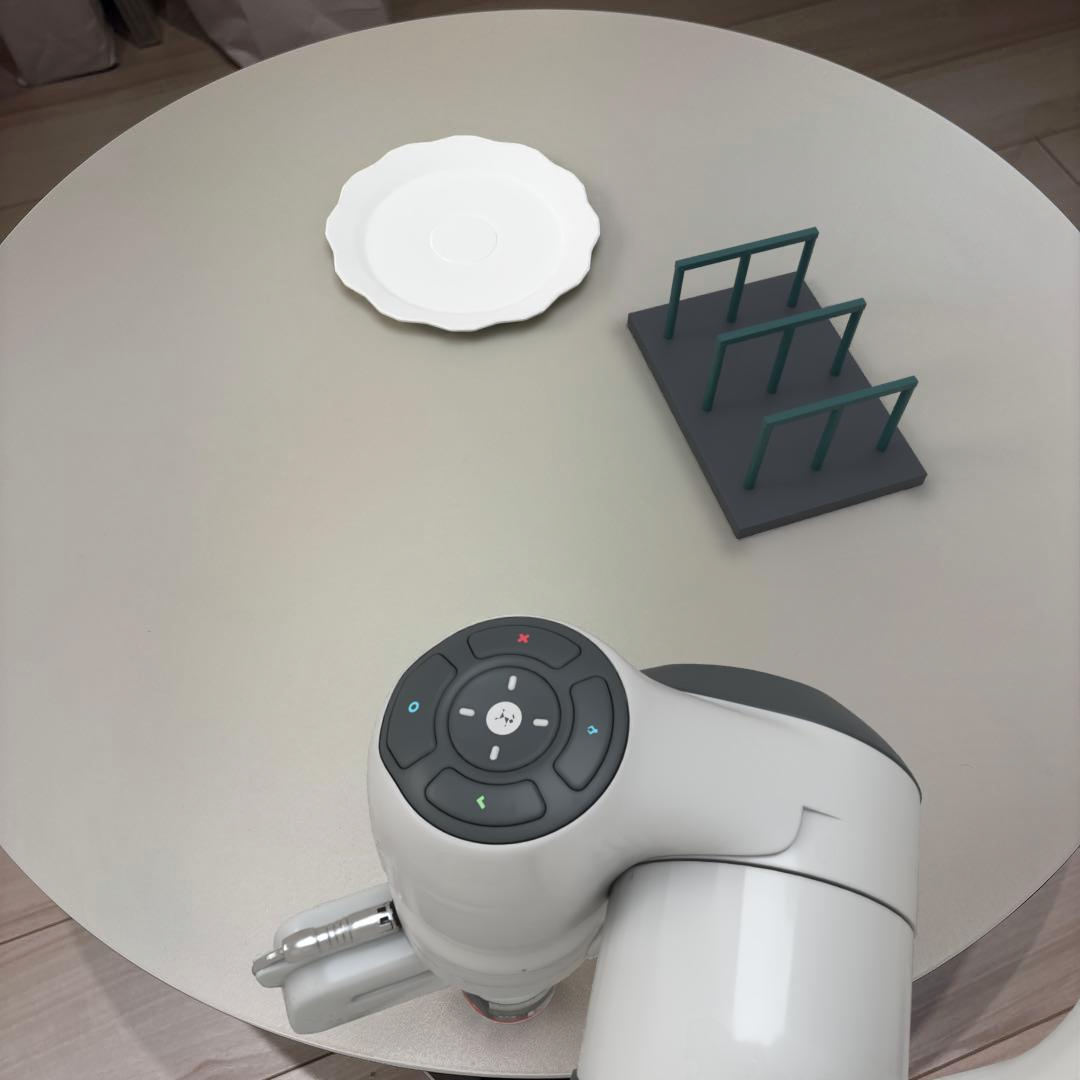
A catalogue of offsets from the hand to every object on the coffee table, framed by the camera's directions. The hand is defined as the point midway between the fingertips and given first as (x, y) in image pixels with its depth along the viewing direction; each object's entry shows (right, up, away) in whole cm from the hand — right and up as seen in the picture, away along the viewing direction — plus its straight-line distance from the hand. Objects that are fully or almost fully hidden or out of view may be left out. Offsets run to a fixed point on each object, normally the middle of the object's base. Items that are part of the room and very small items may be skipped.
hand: (503, 948), depth 57 cm
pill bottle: (0, -3, +4) cm, 5 cm away
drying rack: (+18, +30, +25) cm, 43 cm away
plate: (-4, +44, +33) cm, 55 cm away
